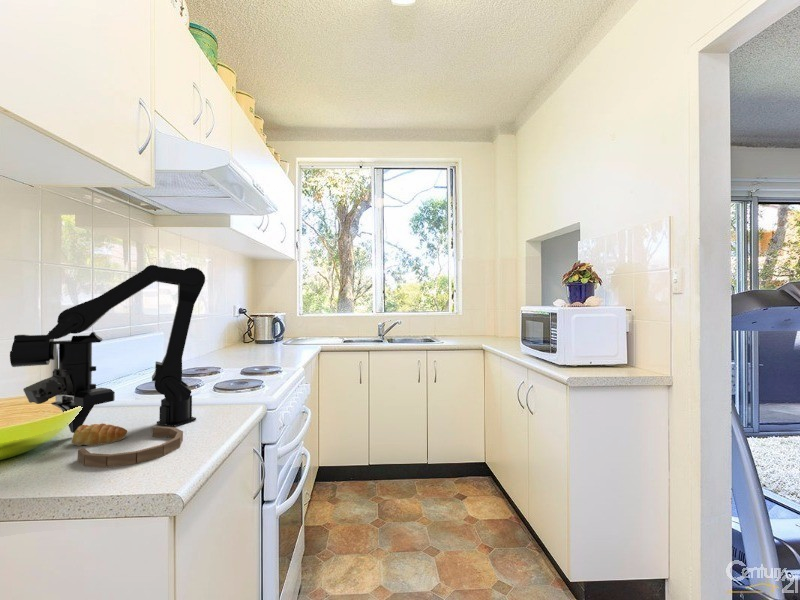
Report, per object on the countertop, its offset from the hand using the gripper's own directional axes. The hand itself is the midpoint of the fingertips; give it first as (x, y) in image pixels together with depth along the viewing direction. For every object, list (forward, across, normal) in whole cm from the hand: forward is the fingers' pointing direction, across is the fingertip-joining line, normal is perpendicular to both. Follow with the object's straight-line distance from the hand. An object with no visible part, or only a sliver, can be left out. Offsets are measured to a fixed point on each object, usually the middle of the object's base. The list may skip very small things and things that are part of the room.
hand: (74, 432), depth 87 cm
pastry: (+2, +7, +1) cm, 8 cm away
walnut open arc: (+1, +22, 0) cm, 22 cm away
